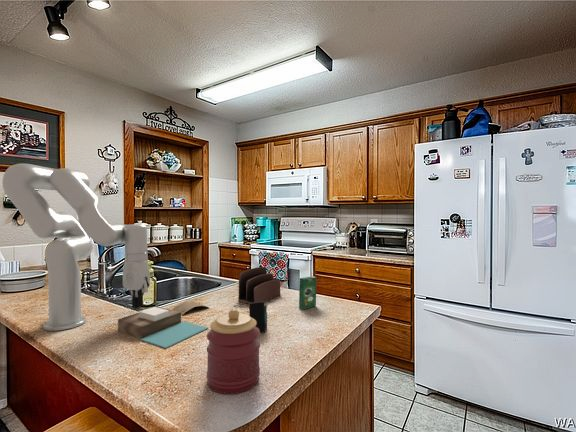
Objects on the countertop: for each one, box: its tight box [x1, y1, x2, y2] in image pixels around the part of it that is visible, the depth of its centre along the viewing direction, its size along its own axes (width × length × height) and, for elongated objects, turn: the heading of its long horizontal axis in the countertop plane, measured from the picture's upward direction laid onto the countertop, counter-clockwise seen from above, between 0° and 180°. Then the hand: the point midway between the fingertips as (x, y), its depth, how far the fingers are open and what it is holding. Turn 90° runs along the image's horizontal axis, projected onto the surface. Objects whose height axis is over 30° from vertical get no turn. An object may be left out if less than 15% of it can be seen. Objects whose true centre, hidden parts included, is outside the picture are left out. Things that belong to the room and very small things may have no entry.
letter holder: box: [237, 266, 281, 305], centre depth 146 cm, size 10×20×14 cm, turn 146°
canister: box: [206, 308, 261, 395], centre depth 76 cm, size 13×13×18 cm
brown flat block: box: [117, 306, 182, 339], centre depth 110 cm, size 13×16×4 cm
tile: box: [138, 306, 169, 321], centre depth 109 cm, size 8×6×2 cm
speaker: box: [248, 301, 268, 334], centre depth 108 cm, size 8×6×10 cm
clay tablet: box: [171, 301, 210, 316], centre depth 129 cm, size 14×10×3 cm
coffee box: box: [298, 276, 317, 310], centre depth 132 cm, size 8×3×13 cm, turn 129°
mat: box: [139, 320, 209, 350], centre depth 103 cm, size 12×18×1 cm, turn 151°
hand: (137, 306), depth 114 cm, fingers closed
